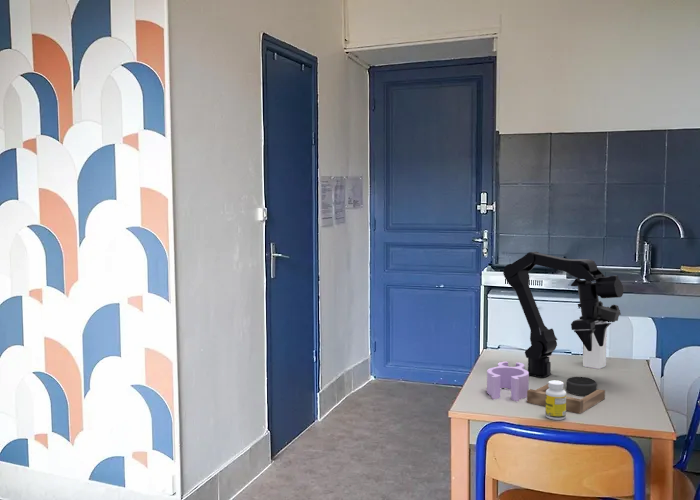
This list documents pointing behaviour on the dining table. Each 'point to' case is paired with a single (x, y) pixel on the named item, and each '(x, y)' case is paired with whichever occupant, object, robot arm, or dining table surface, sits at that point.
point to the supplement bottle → (555, 400)
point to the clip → (508, 380)
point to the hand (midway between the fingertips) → (595, 348)
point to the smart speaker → (581, 386)
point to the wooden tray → (567, 399)
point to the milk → (595, 354)
